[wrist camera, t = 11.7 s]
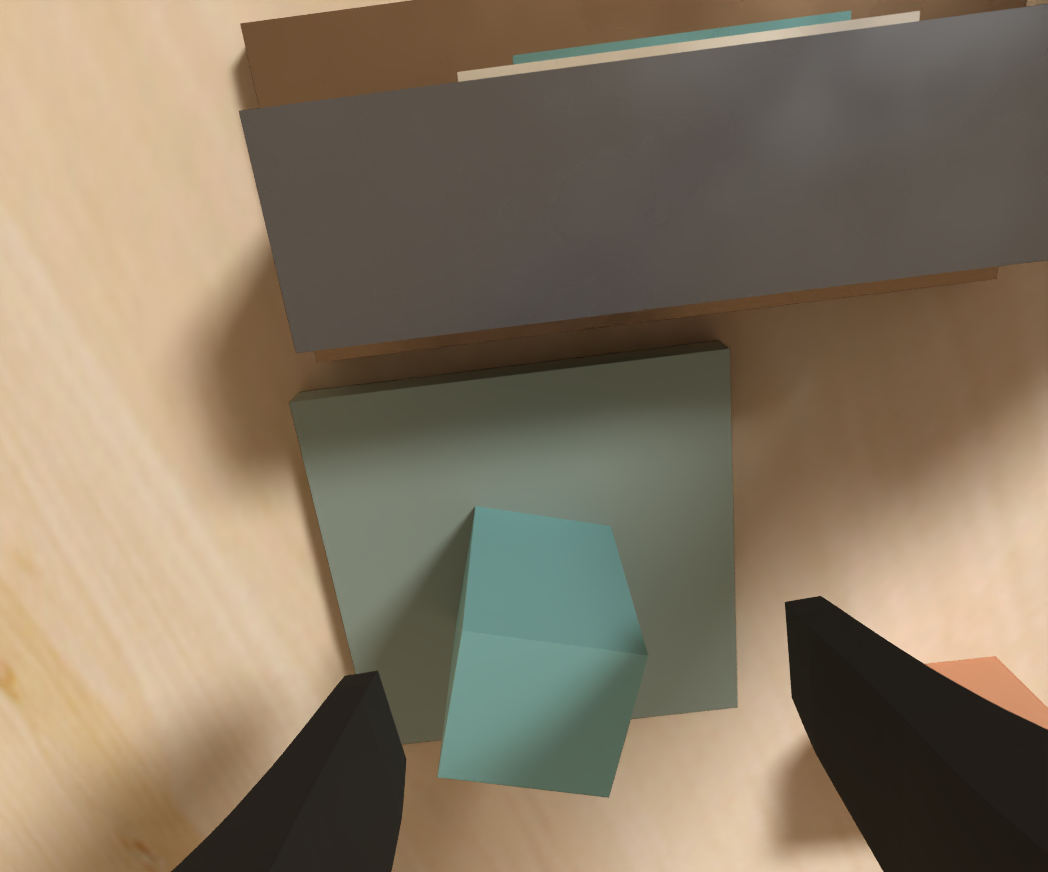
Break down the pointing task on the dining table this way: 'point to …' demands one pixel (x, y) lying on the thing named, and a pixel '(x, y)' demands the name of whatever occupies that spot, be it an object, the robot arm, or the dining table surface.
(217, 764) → the dining table surface
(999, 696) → the terracotta block
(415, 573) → the pad
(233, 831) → the robot arm
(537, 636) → the block
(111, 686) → the dining table surface
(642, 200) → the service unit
